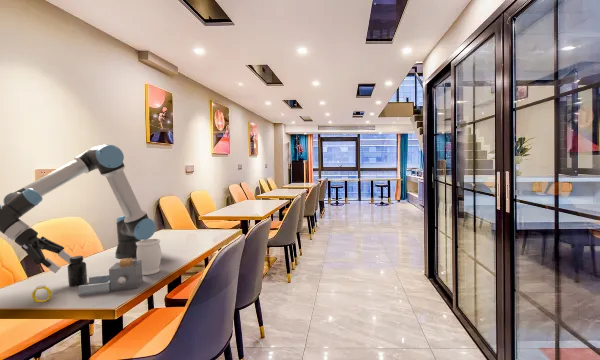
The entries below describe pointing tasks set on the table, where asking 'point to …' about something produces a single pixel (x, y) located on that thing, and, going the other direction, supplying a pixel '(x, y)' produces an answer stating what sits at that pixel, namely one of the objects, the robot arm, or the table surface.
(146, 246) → the jar
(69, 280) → the supplement bottle
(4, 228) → the robot arm
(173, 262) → the table surface
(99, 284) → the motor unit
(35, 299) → the watch
